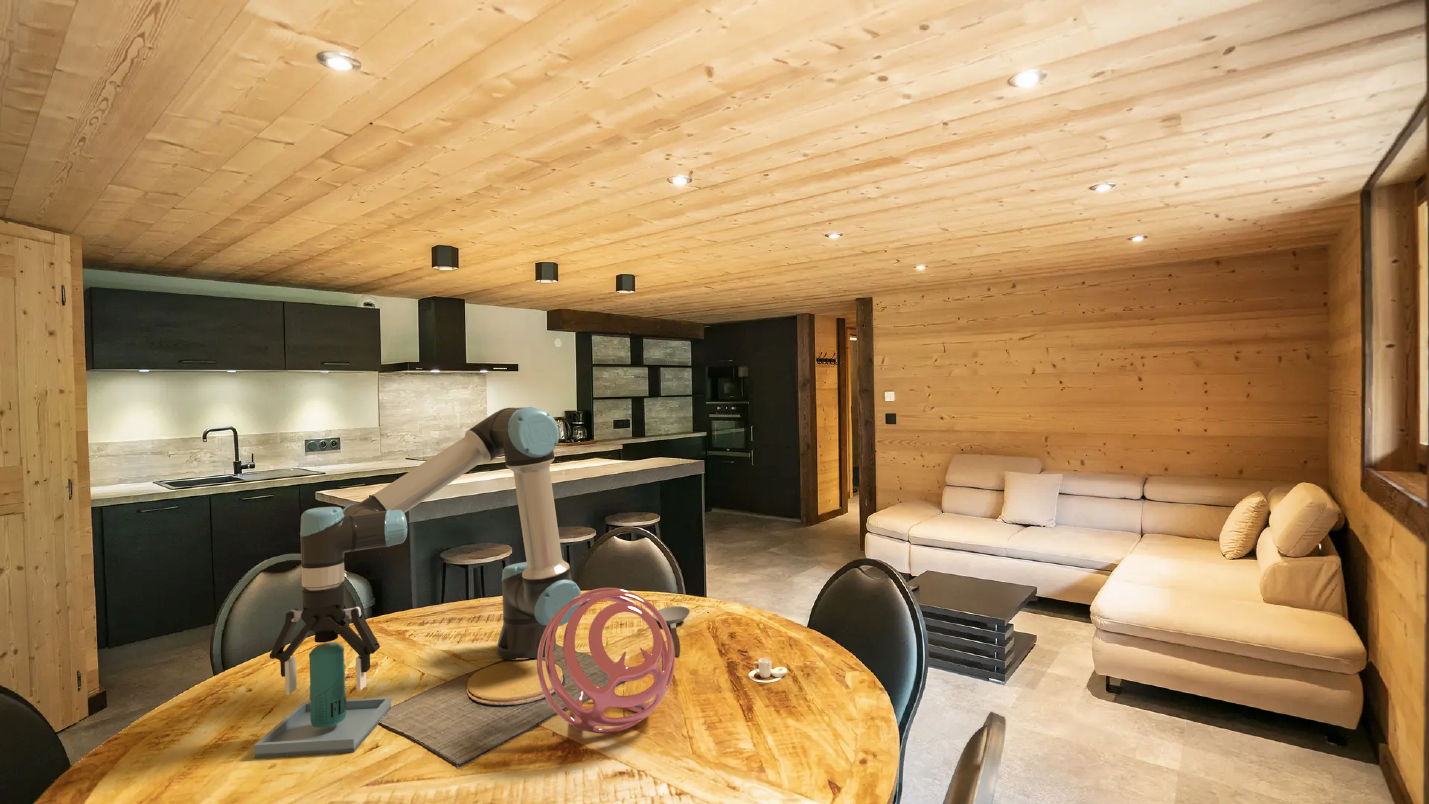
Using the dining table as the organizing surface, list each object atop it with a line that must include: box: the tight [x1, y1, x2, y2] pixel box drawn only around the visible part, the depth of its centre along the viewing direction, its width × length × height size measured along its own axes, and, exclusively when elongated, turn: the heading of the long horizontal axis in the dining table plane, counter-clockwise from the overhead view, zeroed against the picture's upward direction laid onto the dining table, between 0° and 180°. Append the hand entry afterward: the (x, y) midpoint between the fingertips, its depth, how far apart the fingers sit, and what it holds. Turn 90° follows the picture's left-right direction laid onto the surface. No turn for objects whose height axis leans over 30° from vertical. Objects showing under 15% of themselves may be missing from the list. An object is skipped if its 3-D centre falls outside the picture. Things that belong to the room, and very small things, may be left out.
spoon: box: [652, 606, 691, 658], centre depth 189 cm, size 11×33×3 cm, turn 6°
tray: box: [253, 696, 392, 759], centre depth 137 cm, size 18×18×2 cm
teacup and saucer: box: [747, 657, 788, 684], centre depth 160 cm, size 9×8×4 cm
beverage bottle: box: [308, 630, 347, 727], centre depth 137 cm, size 6×7×20 cm
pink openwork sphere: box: [536, 587, 676, 735], centre depth 140 cm, size 28×28×27 cm
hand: (326, 690), depth 137 cm, fingers open, 13 cm apart
